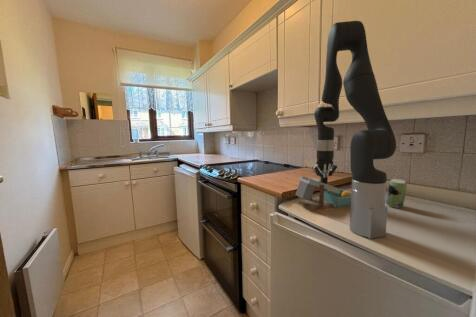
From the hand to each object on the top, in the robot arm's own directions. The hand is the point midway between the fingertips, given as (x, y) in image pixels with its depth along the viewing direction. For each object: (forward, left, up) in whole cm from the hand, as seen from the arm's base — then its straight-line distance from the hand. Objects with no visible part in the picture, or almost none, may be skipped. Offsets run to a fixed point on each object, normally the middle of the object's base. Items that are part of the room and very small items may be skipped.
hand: (323, 184), depth 98 cm
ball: (-6, -8, -4) cm, 11 cm away
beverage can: (-18, -23, -8) cm, 30 cm away
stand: (-6, +8, -7) cm, 12 cm away
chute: (-3, +9, -6) cm, 11 cm away
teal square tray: (-6, -5, -7) cm, 10 cm away
